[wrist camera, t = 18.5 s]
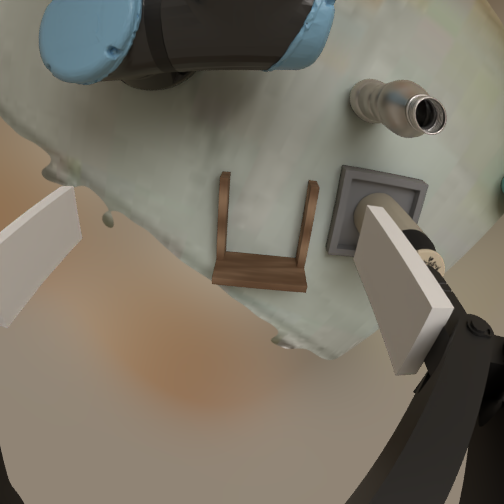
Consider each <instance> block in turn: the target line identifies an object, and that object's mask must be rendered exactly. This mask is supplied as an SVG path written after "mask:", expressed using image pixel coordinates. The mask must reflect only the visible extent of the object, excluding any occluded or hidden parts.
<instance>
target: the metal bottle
mask: <svg viewBox="0 0 504 504" xmlns="http://www.w3.org/2000/svg"><path fill="white" fill-rule="evenodd" d="M350 104H351V107H352V109H353V110H354V112H355V113H356V114H357V116H359V117H360V118H361V119H362V120H364V121H366V122H369V123H382V124H384V125H385V126H386V127H387V128H388V129H389V130H391V131H392V132H393V133H395V134H397V135H399V136H401V137H405V138H413V137H418V136H421V135H423V134H424V133H426V134H430V135H434V134H437V133H439V132H441V131H442V130H443V128H444V127H445V124H446V120H447V116H446V111H445V108H444V107H443V105H442V104H441V102H439V101H438V100H437V99H435V98H433V97H430V96H429V94H428V93H427V92H426V91H425V90H424V89H423V88H422V87H421V86H419V85H418V84H416V83H414V82H412V81H409V80H397V81H393V82H390V83H387V84H385V83H383V82H381V81H378V80H375V79H365V80H362V81H360V82H358V83H357V84H356V85H355V86H354V87H353V88H352V90H351V93H350Z"/></svg>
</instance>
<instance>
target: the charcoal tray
mask: <svg viewBox="0 0 504 504" xmlns="http://www.w3.org/2000/svg"><path fill="white" fill-rule="evenodd" d="M427 189H428V184H426V183H425V182H424V181H423V180H419V179H415V178H410V177H405V176H401V175H396V174H391V173H386V172H380V171H375V170H369V169H364V168H358V167H352V166H346V165H342V170H341V175H340V180H339V186H338V191H337V196H336V201H335V206H334V211H333V215H332V220H331V225H330V229H329V234H328V239H327V243H326V249H327V252H328V254H331V255H342V256H352V257H354V255H355V252H356V248H357V244H358V240H359V236H360V234H359V232H358V230H357V228H356V226H355V223H354V212H355V209H356V207H357V205H358V204H359V202H360V201H361V200H362V199H363V198H365V197H366V196H368V195H370V194H373V193H385V194H387V195H389V196H391V197H392V198H393V199H394V200H395V201H396V202H397V203H398V204H399V205H400V206H401V207H402V209H403V210H404V211H405V212H406V213H407V214H408V215H409V216H410V217H411V219H412V220H413V221H414V222H415V223H416V224H417V223H418V220H419V217H420V213H421V210H422V207H423V203H424V200H425V196H426V192H427Z"/></svg>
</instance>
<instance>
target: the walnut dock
mask: <svg viewBox="0 0 504 504" xmlns="http://www.w3.org/2000/svg"><path fill="white" fill-rule="evenodd" d="M230 173H231V172H222V174H221V176H220V188H219V209H218V232H217V259H216V264H215V268H214V272H213V275H212V284H218V285H227V286H237V287H248V288H258V289H269V290H281V291H293V292H305V293H306V289H307V282H306V276H305V271H304V266H305V261H306V256H307V251H308V246H309V241H310V236H311V231H312V226H313V220H314V215H315V210H316V204H317V199H318V193H319V186H318V183H317V181H311V180H309V182H308V189H307V195H306V201H305V207H304V213H303V219H302V225H301V230H300V236H299V242H298V247H297V253H296V258H290V257H280V256H269V255H259V254H249V253H238V252H228V251H226V238H227V221H228V204H229V188H230Z"/></svg>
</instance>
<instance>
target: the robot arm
mask: <svg viewBox="0 0 504 504" xmlns="http://www.w3.org/2000/svg"><path fill="white" fill-rule="evenodd" d="M334 3H335V0H52V2H51V3H50V4H49V5H48V6H47V8H46V10H45V13H44V15H43V18H42V21H41V25H40V30H39V49H40V54H41V58H42V60H43V63H44V65H45V66H46V68H47V69H49V70H50V72H52V74H53V76H55V77H56V78H58V79H60V80H62V81H65V82H69V83H77V84H83V85H89V84H94V83H97V82H100V81H113V80H121V81H123V82H124V83H126V84H127V85H129V86H131V87H134V88H137V89H141V90H162V89H167V88H170V87H173V86H176V85H178V84H180V83H182V82H183V81H185V80H186V79H188V78H189V77H190V76H191V75H193V74H194V73H195V72H196V71H204V70H262V71H264V72H268V71H273V70H300V69H304V68H306V67H308V66H310V65H311V64H313V63H314V62H315V61H316V59H317V58H318V57H319V55H320V54H321V52H322V50H323V48H324V46H325V44H326V41H327V38H328V36H329V33H330V29H331V26H332V22H333V18H334V13H335V9H334V6H333V5H334ZM81 239H82V234H81V229H80V224H79V218H78V212H77V206H76V199H75V192H74V186H61V187H59V188H58V189H56V190H55V191H54V192H52V193H51V194H49V195H48V196H46V197H45V198H44V199H42V200H41V201H40V202H38V203H37V204H35V205H34V206H33V207H32V208H30V209H29V210H27V211H26V212H25V213H24V214H22V215H21V216H20V217H18V218H17V219H16V220H15V221H13V222H12V223H11V224H10V225H8V226H7V227H6V228H5V229H4V230H2V231H1V232H0V326H2V327H6V328H8V327H9V326H10V324H11V323H12V322H13V320H14V319H15V318H16V316H17V315H18V314H19V312H20V311H21V310H22V308H23V307H24V306H25V305H26V303H27V302H28V301H29V299H30V298H31V297H32V296H33V294H34V293H35V292H36V291H37V290H38V288H39V287H40V286H41V285H42V283H43V282H44V281H45V280H46V279H47V277H48V276H49V275H50V274H51V273H52V272H53V270H54V269H55V268H56V267H57V266H58V265H59V263H60V262H61V261H62V260H63V259H64V258H65V257H66V256H67V254H68V253H69V252H70V251H71V250H72V249H73V248H74V247H75V246H76V245H77V243H78V242H79V241H80V240H81ZM353 261H354V263H355V266H356V268H357V271H358V273H359V276H360V278H361V281H362V283H363V286H364V288H365V291H366V293H367V296H368V298H369V301H370V304H371V306H372V309H373V312H374V314H375V317H376V320H377V323H378V325H379V328H380V331H381V333H382V336H383V339H384V342H385V345H386V348H387V351H388V354H389V357H390V360H391V363H392V366H393V369H394V372H395V375H411V374H416V373H417V372H418V370H419V368H420V367H421V365H422V364H423V362H425V365H426V367H427V370H428V371H427V373H426V374H425V376H424V377H423V379H422V380H421V382H420V383H419V384H418V386H417V387H416V389H415V390H414V391H413V392H414V393H415V395H414V397H413V399H412V401H411V403H410V405H409V407H408V409H407V411H406V412H405V414H404V416H403V418H402V419H401V421H400V423H399V425H398V426H397V428H396V430H395V432H394V433H393V435H392V437H391V438H390V440H389V441H388V443H387V445H386V446H385V448H384V449H383V451H382V453H381V454H380V456H379V457H378V459H377V460H376V462H375V463H374V465H373V466H372V468H371V469H370V471H369V472H368V474H367V475H366V477H365V478H364V479H363V481H362V482H361V483H360V485H359V486H358V488H357V489H356V490H355V491H354V493H353V494H352V495H351V497H350V498H349V499H348V501H347V502H346V503H345V504H444V503H445V501H446V499H447V497H448V494H449V492H450V490H451V488H452V486H453V483H454V481H455V479H456V476H457V474H458V471H459V469H460V466H461V464H462V461H463V459H464V456H465V453H466V451H467V448H468V453H467V462H466V468H465V475H464V482H463V487H462V492H461V497H460V502H459V504H504V337H500V336H496V335H494V332H493V330H492V328H491V327H490V325H489V324H488V323H487V322H486V321H485V320H483V319H482V318H480V317H478V316H475V315H472V314H467V313H466V312H465V310H464V308H463V307H462V305H461V304H460V302H459V301H458V299H457V297H456V296H455V294H454V293H453V292H451V288H450V287H449V286H448V284H446V281H445V280H444V278H443V277H442V275H441V274H440V273H439V272H438V271H437V270H435V269H434V268H433V267H432V266H431V265H426V264H425V263H424V261H423V260H422V259H421V257H420V256H419V254H418V253H417V251H416V250H415V249H414V247H413V246H412V245H411V243H410V242H409V241H408V239H407V238H406V236H405V235H404V234H403V232H402V231H401V230H400V229H399V227H398V226H397V225H396V223H395V222H394V221H393V219H392V218H391V217H390V216H389V214H388V213H387V212H386V211H385V209H384V208H383V207H377V206H370V205H367V206H366V211H365V215H364V219H363V224H362V228H361V232H360V236H359V240H358V244H357V248H356V252H355V255H354V259H353ZM0 504H24V502H23V501H22V499H21V498H20V496H19V495H18V494H17V492H16V491H15V489H14V488H13V487H12V485H11V483H10V482H9V479H8V476H7V472H6V469H5V465H4V461H3V457H2V452H1V448H0Z"/></svg>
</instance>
